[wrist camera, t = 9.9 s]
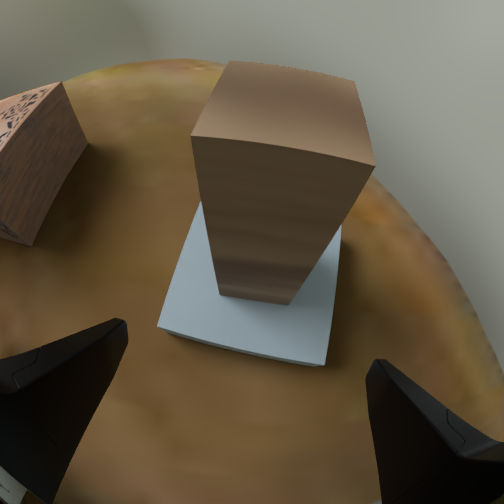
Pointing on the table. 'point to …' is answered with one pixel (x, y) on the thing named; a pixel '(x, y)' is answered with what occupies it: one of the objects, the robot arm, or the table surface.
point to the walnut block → (277, 174)
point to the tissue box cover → (35, 157)
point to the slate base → (250, 307)
